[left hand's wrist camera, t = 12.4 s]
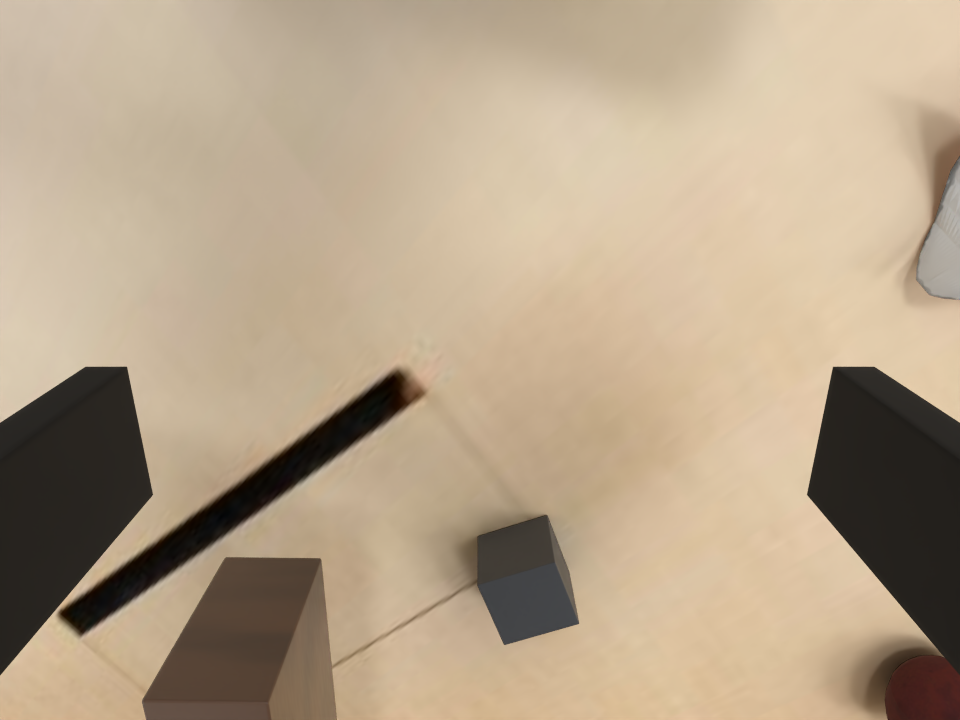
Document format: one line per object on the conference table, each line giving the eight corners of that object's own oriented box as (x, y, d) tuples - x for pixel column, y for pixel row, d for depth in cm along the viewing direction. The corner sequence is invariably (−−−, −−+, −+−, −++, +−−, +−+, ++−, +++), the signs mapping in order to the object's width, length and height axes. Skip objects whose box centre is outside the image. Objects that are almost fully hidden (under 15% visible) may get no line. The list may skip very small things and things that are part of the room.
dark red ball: (886, 725, 51) (947, 817, 44) (847, 661, 49) (904, 747, 42) (980, 685, 50) (1056, 773, 43) (944, 616, 47) (1019, 698, 41)
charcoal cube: (477, 536, 45) (477, 585, 40) (547, 514, 45) (555, 562, 40) (501, 591, 47) (504, 645, 42) (569, 571, 46) (579, 624, 42)
